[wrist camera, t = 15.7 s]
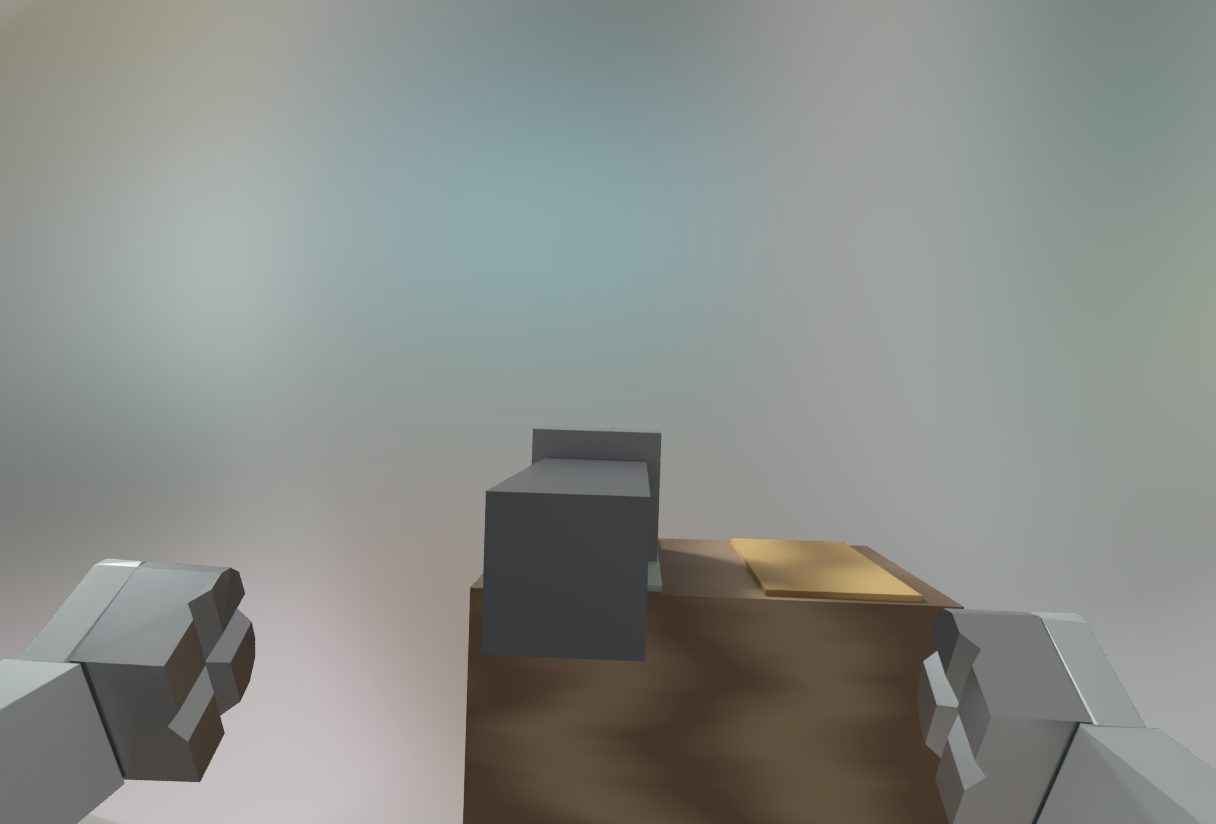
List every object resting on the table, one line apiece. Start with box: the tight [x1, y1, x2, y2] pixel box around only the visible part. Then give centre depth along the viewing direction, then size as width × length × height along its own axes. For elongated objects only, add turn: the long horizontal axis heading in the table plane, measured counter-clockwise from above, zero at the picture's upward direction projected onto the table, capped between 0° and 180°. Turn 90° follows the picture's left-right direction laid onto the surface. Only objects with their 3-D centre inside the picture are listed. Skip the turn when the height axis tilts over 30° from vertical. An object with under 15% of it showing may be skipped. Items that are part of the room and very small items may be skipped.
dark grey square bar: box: [481, 426, 661, 662], centre depth 29 cm, size 5×18×5 cm, turn 178°
